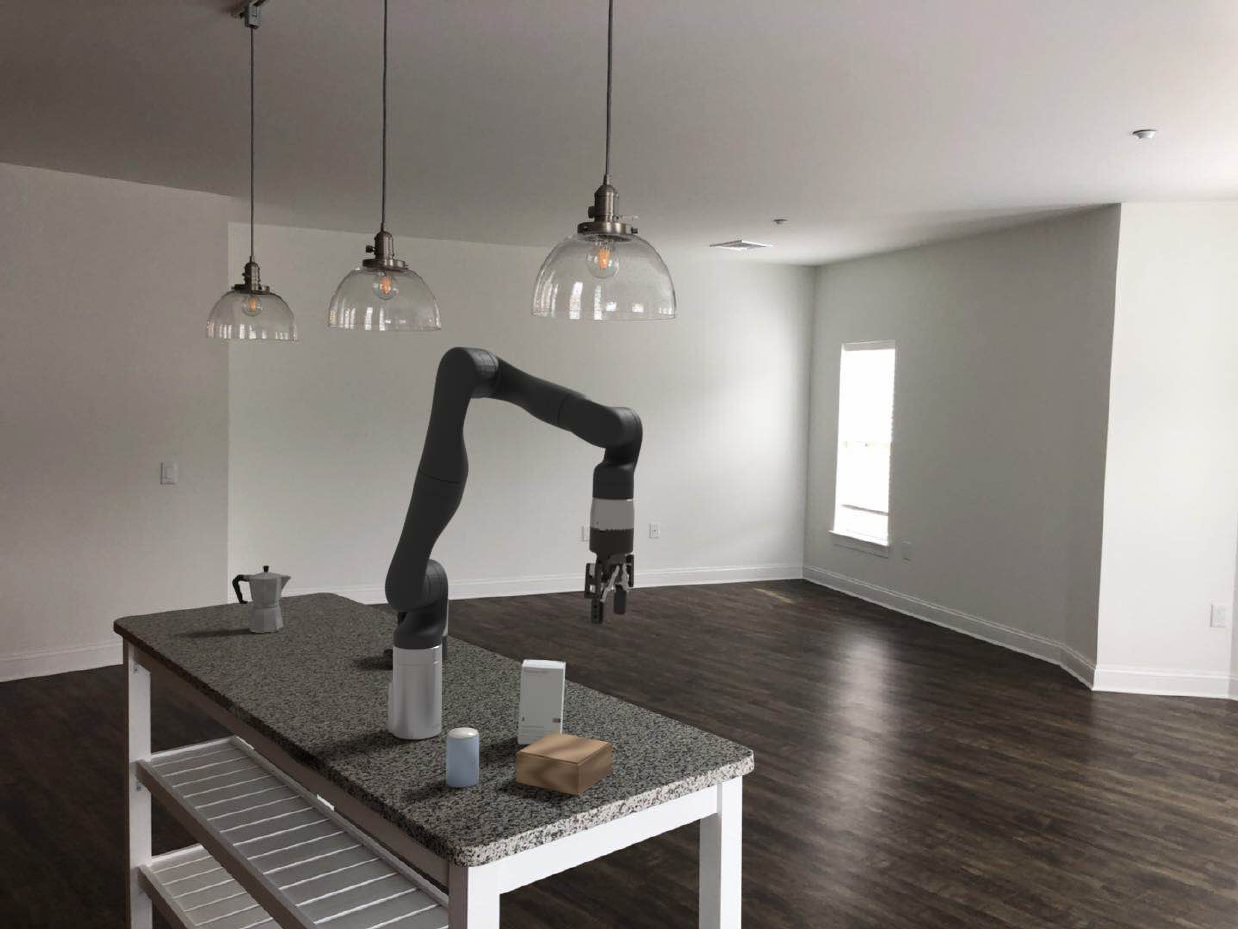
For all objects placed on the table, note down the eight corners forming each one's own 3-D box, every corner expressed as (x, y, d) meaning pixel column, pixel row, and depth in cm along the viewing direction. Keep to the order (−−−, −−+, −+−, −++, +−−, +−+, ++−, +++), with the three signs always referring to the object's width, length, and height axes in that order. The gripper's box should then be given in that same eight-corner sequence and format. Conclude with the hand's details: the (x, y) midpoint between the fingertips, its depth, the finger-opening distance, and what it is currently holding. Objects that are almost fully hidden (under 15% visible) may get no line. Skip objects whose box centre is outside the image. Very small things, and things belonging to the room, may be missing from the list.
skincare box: (517, 745, 183) (518, 666, 182) (520, 734, 189) (521, 658, 188) (562, 746, 183) (563, 667, 182) (564, 735, 189) (565, 659, 188)
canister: (439, 783, 164) (440, 734, 163) (458, 773, 169) (459, 725, 168) (466, 789, 162) (466, 739, 161) (485, 779, 166) (485, 730, 166)
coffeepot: (292, 625, 277) (292, 562, 276) (289, 633, 268) (289, 567, 267) (234, 627, 274) (234, 563, 273) (229, 635, 265) (229, 568, 264)
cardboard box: (515, 782, 165) (516, 751, 165) (551, 759, 176) (552, 731, 176) (578, 795, 160) (578, 764, 160) (611, 772, 171) (612, 742, 170)
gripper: (610, 518, 175) (607, 608, 176) (572, 527, 162) (569, 624, 163) (649, 522, 171) (646, 614, 172) (613, 531, 159) (610, 630, 160)
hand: (608, 618), depth 168 cm, fingers open, 8 cm apart
